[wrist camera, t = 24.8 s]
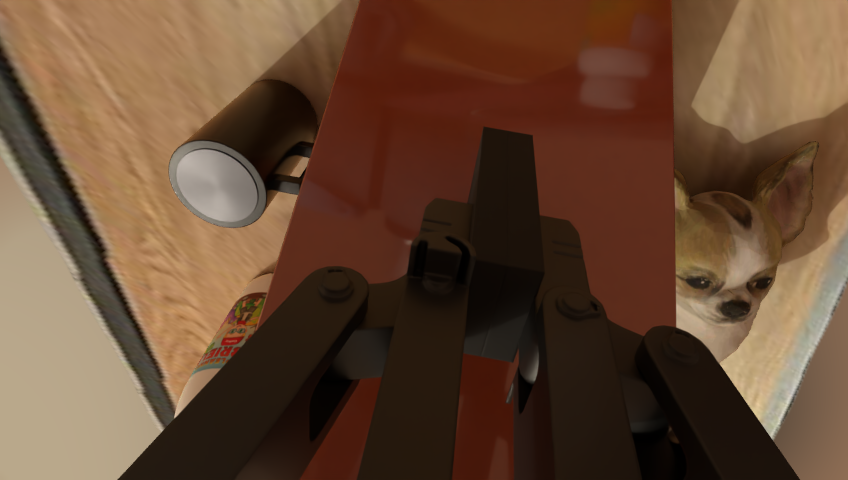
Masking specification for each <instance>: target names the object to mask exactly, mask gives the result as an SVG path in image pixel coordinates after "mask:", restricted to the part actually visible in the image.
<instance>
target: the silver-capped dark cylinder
mask: <svg viewBox="0 0 848 480" xmlns="http://www.w3.org/2000/svg"><path fill="white" fill-rule="evenodd" d="M317 127H318V125H317V118H316V114H315V111H314V109H313V107H312V105H311V103H310V102H309V100H308V99H307V98H306V97H305V96H304V95H303V94H302V93H301V92H300V91H299V90H298V89H296V88H295V87H293V86H292V85H290V84H288V83H285V82H282V81H278V80H262V81H259V82H256V83H254V84H252V85H251V86H250V87H248V88H247V89H246V90H245V91H244V92H243V93H241V94H240V95H239V96H238V97H237V98H236V99H234V100H233V101H232V102H231V103H230V104H229V105H227V106H226V107H225V108H224V109H223V110H222V111H220V112H219V113H218V114H217V115H216V116H215V117H213V118H212V119H211V120H210V121H209V122H208V123H206V124H205V125H204V126H203V127H202V128H201V129H199V130H198V131H197V132H196V133H195V134H194V135H192V136H191V137H190V138H189V139H188V140H187V141H185V142H184V143H183V144H182V145H181V146H180V147H178V148H177V149H176V151H175V152H174V153H173V155H172V157H171V159H170V163H169V178H170V182H171V185H172V188H173V190H174V192H175V194H176V195H177V197H178V198H179V200H180V201H181V202H182V203H183V204H184V205H185V206H186V207H187V208H188V209H189V210H190V211H191V212H192V213H193V214H195V215H196V216H198V217H199V218H201V219H203V220H205V221H207V222H209V223H211V224H214V225H217V226H221V227H227V228H238V227H244V226H247V225H250V224H252V223H254V222H255V221H256V220H258V219H259V218H260V217H261V215H262V214H263V213H264V211H265V210H266V208H267V207H268V206H269V204H270V203H271V201H272V200H273V199H274V197H275V196H276V194H277V193H278V191H279V192H285V193H290V194H295V195H298V194H299V191H300V187H301V184H302V181H303V178H304V175H305V171H306V169H305V170H304V172H303V173H302V175H301V176H300V178H299V177H293V176H290V174H291V173H292V172H293V170H294V169H295V167H296V166H297V164H298V163H299V162H300V160H301V159H302V157H308V158H310V156H311V152H312V149H313V146H314V143H313V141H314V140H315V137H316V134H317ZM306 168H307V167H306Z"/></svg>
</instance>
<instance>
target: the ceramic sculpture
mask: <svg viewBox="0 0 848 480" xmlns="http://www.w3.org/2000/svg"><path fill="white" fill-rule="evenodd" d="M818 147H819V143H818V142H816V141H815V142H809V143H807V144H806V145H804V146H802V147H801V148H799V149H798V150H796V151H794V152H793V153H791V154H789V155H787V156H785V157H783V158H782V159H780V160H779V161H777V162H776V163H774V164H773V165H771V166H769V167H768V168H766V169H765V170H763V171H762V172H761V173H760V174H759V175H758V176H757V177H756V179H755V182H754V185H753V195H752V201H747V200H745V199H743V198H742V197H740V196H738V195H736V194H733V193H728V192H722V191H711V192H705V193H700V194H697V195H694V196H692V197H690V195H689V192H688V189H687V185H686V182H685V179H684V177H683V175H682V173H680V172H679V171H678V170H676V169H675V168H674V180H675V256H676V327H677V328H679V329H682V330H684V331H686V332H689V333H690V334H692V335H693V336H695V337H696V338H698V339H699V340H701V341H702V342H703V343H704V345H705V346H706V347H707V348H708V349H709V350H710V351H711V353H712V354H713V355H714V357H715V358H716V360H717V361H718V363H720V362H721V361H723V360H724V359H725V358H727V357H728V356H729V355H730V354H732V353H733V352H735V351H736V350H737V349H738V347H739V345H740V344H741V343H742V341H743V340H744V339H745V338H746V337H747V335H748V334H749V331H750V329H751V326H752V323H753V320H754V318H755V317H756V315H757V311H758V310H759V307H760V303H761V301H762V300H763V299H764V297H765V296H766V295H767V293H768V291H769V290H770V288H771V287H772V285H773V283H774V281H775V276H776V270H777V265H778V263H779V261H780V259H781V257H782V251H781V248H782V247H784V246H785V245H786V244H788V243H789V242H791V241H793V240H794V239H795V238H796V237H797V236H798V235H799V234H800V233H801V232H802V230H803V229H804V225H805V220H806V217H807V216H808V215H809V213H810V211H811V209H812V200H813V196H812V194H811V190H812V189H813V160H814V159H815V157H816V154H817V151H818Z"/></svg>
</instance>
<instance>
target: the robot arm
mask: <svg viewBox="0 0 848 480" xmlns="http://www.w3.org/2000/svg"><path fill="white" fill-rule="evenodd" d="M518 348H519V365H518V367H517V370H516V373H515V376H514V378H513V381H512V384H511V387H510V390H509V392H508V395H507V399H506V403H508V404H510V403H511V401H512V398H513V442H514V480H800V479H799V478H798V476H797V475H796V473H795V472H794V470H793V469H792V467H791V466H790V465H789V463H788V462H787V460H786V459H785V457H784V456H783V455H782V453H781V452H780V450H779V449H778V447H777V446H776V445H775V443H774V442H773V440H772V439H771V437H770V436H769V434H768V433H767V432H766V430H765V429H764V427H763V426H762V424H761V423H760V422H759V420H758V419H757V417H756V416H755V414H754V413H753V411H752V410H751V409H750V407H749V406H748V404H747V403H746V401H745V400H744V399H743V397H742V396H741V394H740V393H739V391H738V390H737V389H736V387H735V386H734V384H733V383H732V381H731V380H730V378H729V377H728V376H727V374H726V373H725V371H724V370H723V368H722V367H721V366H720V364H719V363H718V361H717V360H716V358H715V357H714V355H713V354H712V353H711V351H710V350H709V349H708V348H707V347H706V346H705V345H704V343H703V342H702V341H701V340H699V339H698V338H696V337H695V336H693V335H692V334H690V333H689V332H686V331H684V330H682V329H679V328H677V327H672V326H666V325H661V326H655V327H652V328H651V329H650V330H648V331H647V332H646V334H645V336H642V335H640V334H638V333H635V332H633V331H631V330H628V329H626V328H623V327H621V326H619V325H617V324H615V323H614V322H612V321H611V320H609V319H608V318H607V314H606V311H605V309H604V307H603V305H602V303H601V302H600V301H599V300H598V299H597V298H596V297H595V296H593V295H592V294H591V293H590V288H589V283H588V277H587V272H586V267H585V262H584V259H583V251H582V248H581V241H580V236H579V233H578V231H577V230H576V229H575V227H574V226H573V225H572V224H571V222H570V221H569V220H564V219H558V218H553V217H547V216H542V215H540V212H539V200H538V189H537V178H536V167H535V156H534V144H533V135H529V134H524V133H518V132H512V131H507V130H501V129H495V128H490V127H484V126H483V131H482V136H481V140H480V145H479V150H478V155H477V159H476V164H475V169H474V173H473V178H472V183H471V188H470V192H469V197H468V202H467V203H462V202H457V201H451V200H446V199H440V198H435V199H434V200H433V201H432V202H430V203H429V204H428V205H427V206H426V207H425V211H424V215H423V220H422V224H421V228H420V232H419V236H418V237H416V238H415V239H414V241H413V242H412V244H411V249H410V256H409V263H408V270H407V273H406V274H405V275H404V276H402V277H400V278H399V279H397V280H394V281H390V282H385V283H374V284H368V281H367V280H366V279H365V278H364V276H363V275H362V274H361V273H359V272H357V271H355V270H353V269H351V268H347V267H342V266H327V267H324V268H321V269H317V270H315V271H314V272H312V273H311V274H309V275H308V276H307V277H306V278H305V279H304V280H303V281H302V282H301V283H300V284H299V285H298V286H297V287H296V288H295V290H294V291H293V292H292V293H291V294H290V295H289V296H288V297H287V298H286V299H285V300H284V301H283V302H282V304H281V305H280V306H279V307H278V308H277V309H276V310H275V311H274V312H273V313H272V314H271V315H270V316H269V317H268V319H267V320H266V321H265V322H264V323H263V324H262V325H261V326H260V327H259V328H258V329H257V330H256V331H255V333H254V334H253V335H252V336H251V337H250V338H249V339H248V340H247V341H246V342H245V343H244V344H243V345H242V347H241V348H240V349H239V350H238V351H237V352H236V353H235V354H234V355H233V356H232V357H231V358H230V359H229V360H228V362H227V363H226V364H225V365H224V366H223V367H222V368H221V369H220V370H219V371H218V372H217V373H216V374H215V376H214V377H213V378H212V379H211V380H210V381H209V382H208V383H207V384H206V385H205V386H204V387H203V388H202V390H201V391H200V392H199V393H198V394H197V395H196V396H195V397H194V398H193V399H192V400H191V401H190V402H189V403H188V405H187V406H186V407H185V408H184V409H183V410H182V411H181V412H180V413H179V414H178V415H177V416H176V417H175V419H174V420H173V421H172V422H171V423H170V424H169V425H168V426H167V427H166V428H165V429H164V430H163V431H162V433H161V434H160V435H159V436H158V437H157V438H156V439H155V440H154V441H153V442H152V443H151V445H149V446H148V448H147V449H146V450H145V451H144V452H143V453H142V454H141V455H140V456H139V457H138V458H137V459H136V461H135V462H134V463H133V464H132V465H131V466H130V467H129V468H128V469H127V470H126V472H124V473H123V474H122V476H121V477H120V478H119V479H118V480H299V479H300V477H301V476H302V474H303V473H304V471H305V469H306V468H307V466H308V465H309V463H310V461H311V460H312V458H313V457H314V455H315V453H316V452H317V450H318V449H319V447H320V445H321V444H322V442H323V440H324V439H325V437H326V436H327V434H328V432H329V431H330V429H331V428H332V426H333V424H334V423H335V421H336V420H337V418H338V416H339V415H340V413H341V411H342V410H343V408H344V407H345V405H346V403H347V402H348V400H349V399H350V397H351V395H352V394H353V392H354V391H355V389H356V387H357V386H358V384H359V381H360V379H366V378H377V377H382V378H381V383H380V387H379V391H378V395H377V399H376V403H375V407H374V411H373V415H372V419H371V423H370V427H369V431H368V436H367V440H366V444H365V448H364V452H363V456H362V460H361V464H360V468H359V472H358V476H357V480H452V473H453V462H454V451H455V440H456V429H457V417H458V406H459V395H460V384H461V373H462V362H463V353H465V354H470V355H475V356H480V357H486V358H491V359H496V360H501V361H507V362H512V363H513V362H514V359H515V357H516V354H517V351H518Z"/></svg>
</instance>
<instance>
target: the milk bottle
mask: <svg viewBox="0 0 848 480" xmlns="http://www.w3.org/2000/svg"><path fill="white" fill-rule="evenodd" d="M272 276H273V273H269V274H265V275H262V276H259V277H257V278H255V279H253V280H252V281H250V282H249V283H248V284H247V286H246V287H245V289H244V290H243V292H242V293H241V295H240V296H239V298H238V299H237V301H236V303H235V304H234V306H233V307H232V309H231V311H230V312H229V314H228V315H227V317H226V319H225V320H224V322H223V323H222V325H221V327H220V328H219V330H218V332H217V333H216V335H215V336H214V338H213V340H212V341H211V343H210V345H209V346H208V348H207V350H206V351H205V353H204V355H203V356H202V358H201V359H200V361H199V363H198V364H197V366H196V368H195V370H194V371H193V373H192V375H191V377H190V378H189V380H188V382H187V384H186V386H185V387H184V390H183V392H182V394H181V397H180V399H179V402H178V405H177V408H176V412H175V417H176V416H177V415H178V414H179V413H180V412H181V411H182V410H183V409H184V408H185V407H186V406H187V405H188V403H189V402H190V401H191V400H192V399H193V398H194V397H195V396H196V395H197V394H198V393H199V392H200V391H201V390H202V388H203V387H204V386H205V385H206V384H207V383H208V382H209V381H210V380H211V379H212V378H213V377H214V376H215V374H216V373H217V372H218V371H219V370H220V369H221V368H222V367H223V366H224V365H225V364H226V363H227V362H228V360H229V359H230V358H231V357H232V356H233V355H234V354H235V353H236V352H237V351H238V350H239V349H240V348H241V347H242V345H243V344H244V343H245V342H246V341H247V340H248V339H249V338H250V337H251V336H252V335H253V334H254V333H255V330H256V327H257V324H258V321H259V317H260V314H261V311H262V308H263V305H264V301H265V298H266V295H267V292H268V289H269V286H270V282H271V279H272ZM175 417H174V419H175Z"/></svg>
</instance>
